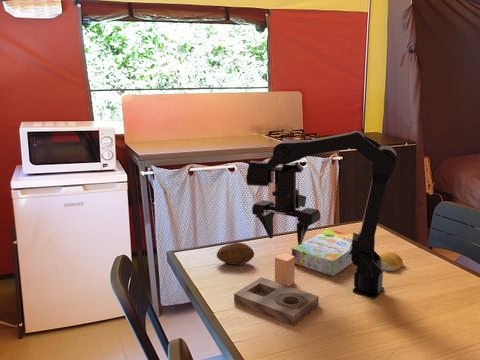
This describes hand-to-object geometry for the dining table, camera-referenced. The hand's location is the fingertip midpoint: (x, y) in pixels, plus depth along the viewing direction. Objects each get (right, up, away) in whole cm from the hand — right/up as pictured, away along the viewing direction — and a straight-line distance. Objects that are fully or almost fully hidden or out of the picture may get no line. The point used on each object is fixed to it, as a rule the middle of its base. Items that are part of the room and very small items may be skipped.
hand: (285, 241), depth 126 cm
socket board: (-3, -15, -10) cm, 18 cm away
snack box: (+10, -4, +22) cm, 24 cm away
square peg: (0, -12, +1) cm, 12 cm away
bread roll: (+32, -9, +12) cm, 36 cm away
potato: (-14, -9, +15) cm, 22 cm away
